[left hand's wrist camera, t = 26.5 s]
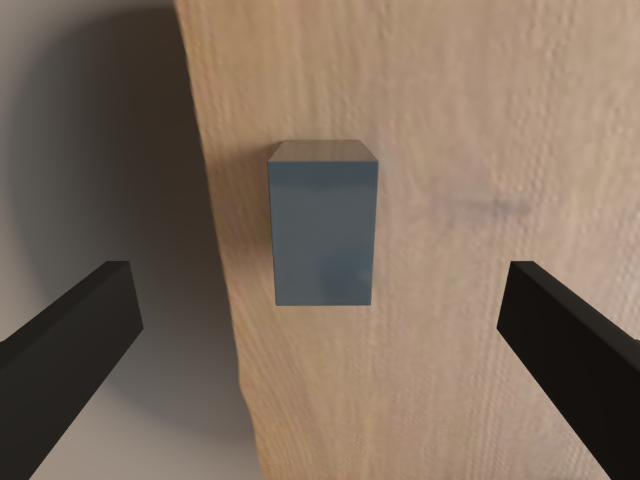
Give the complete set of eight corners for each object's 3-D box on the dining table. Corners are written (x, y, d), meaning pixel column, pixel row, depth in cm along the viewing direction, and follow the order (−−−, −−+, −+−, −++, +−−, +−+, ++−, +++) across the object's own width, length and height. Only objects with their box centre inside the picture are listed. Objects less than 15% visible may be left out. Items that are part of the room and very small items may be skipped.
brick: (284, 140, 24) (267, 161, 16) (360, 140, 24) (379, 160, 16) (288, 246, 27) (275, 306, 19) (356, 246, 27) (370, 305, 19)
